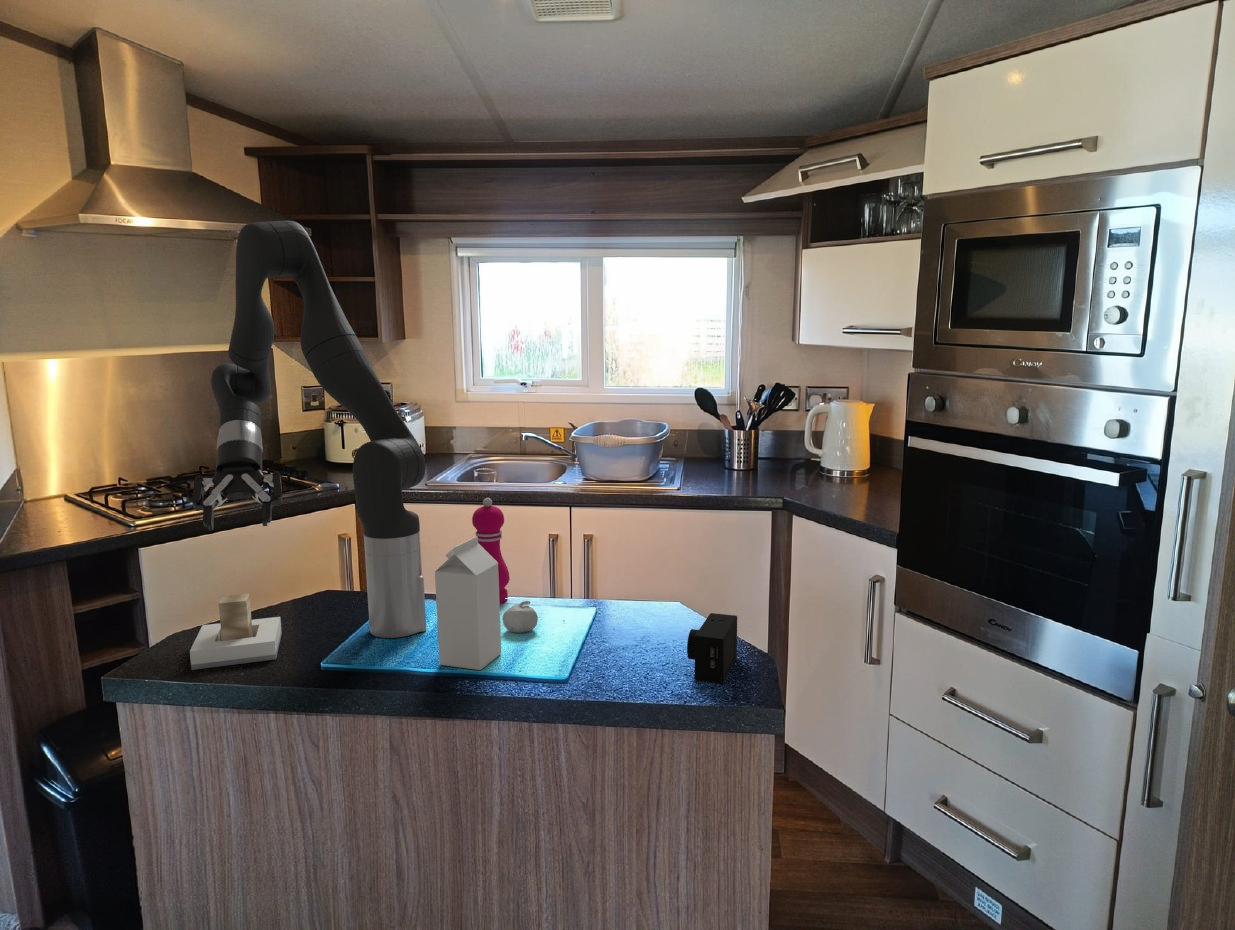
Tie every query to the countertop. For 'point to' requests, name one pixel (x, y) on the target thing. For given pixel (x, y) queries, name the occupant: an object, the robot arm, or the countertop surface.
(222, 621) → the block
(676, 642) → the countertop surface
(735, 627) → the digital camera
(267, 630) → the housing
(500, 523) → the pepper mill
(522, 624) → the garlic
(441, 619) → the milk carton
